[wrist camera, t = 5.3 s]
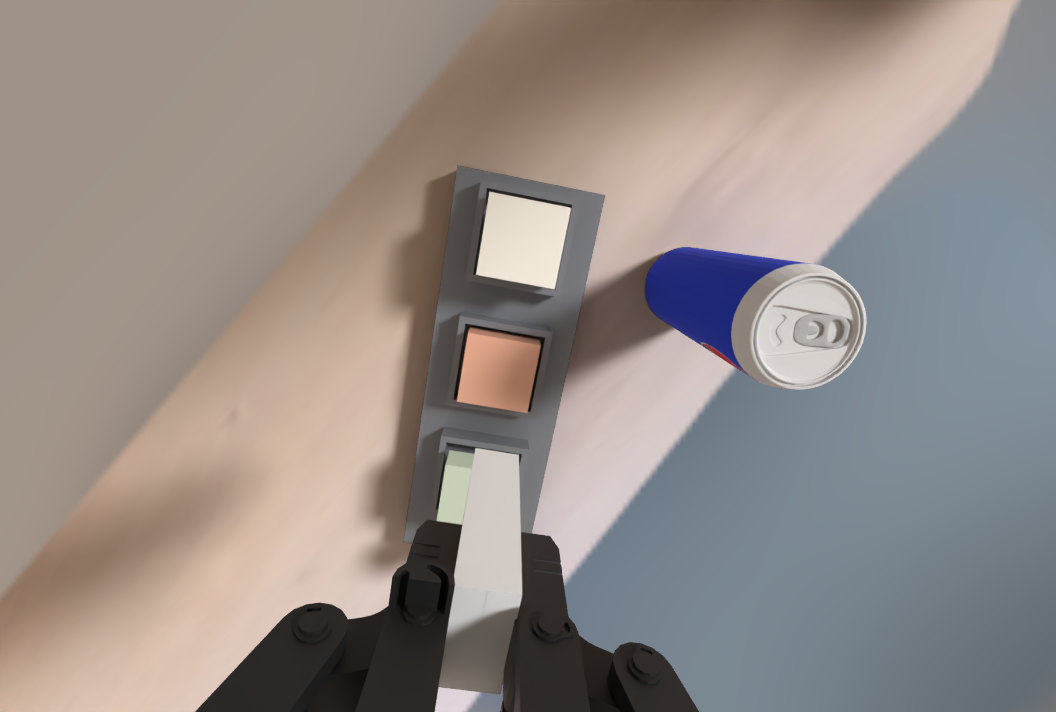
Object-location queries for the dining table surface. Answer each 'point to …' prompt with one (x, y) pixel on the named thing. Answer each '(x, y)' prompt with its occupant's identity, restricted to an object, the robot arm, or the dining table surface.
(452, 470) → the sage button
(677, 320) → the beverage can
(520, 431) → the console
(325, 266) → the dining table surface
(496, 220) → the cream button
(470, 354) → the terracotta button
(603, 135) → the dining table surface
